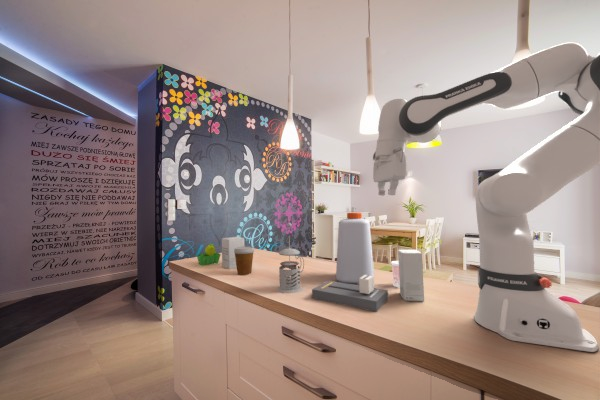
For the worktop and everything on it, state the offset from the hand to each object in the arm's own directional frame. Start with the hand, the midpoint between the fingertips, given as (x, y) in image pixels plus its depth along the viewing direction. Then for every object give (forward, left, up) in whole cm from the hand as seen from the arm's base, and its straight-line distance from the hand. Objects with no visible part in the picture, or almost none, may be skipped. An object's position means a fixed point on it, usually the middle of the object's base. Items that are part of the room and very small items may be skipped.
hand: (386, 195), depth 85 cm
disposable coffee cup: (+67, -3, -35) cm, 75 cm away
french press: (+35, +4, -35) cm, 49 cm away
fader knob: (+6, +3, -31) cm, 31 cm away
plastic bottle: (+19, -20, -35) cm, 44 cm away
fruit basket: (+99, -8, -35) cm, 105 cm away
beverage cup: (+1, -20, -35) cm, 40 cm away
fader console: (+12, +3, -34) cm, 36 cm away
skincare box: (-5, -9, -35) cm, 36 cm away
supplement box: (+82, -10, -35) cm, 90 cm away
